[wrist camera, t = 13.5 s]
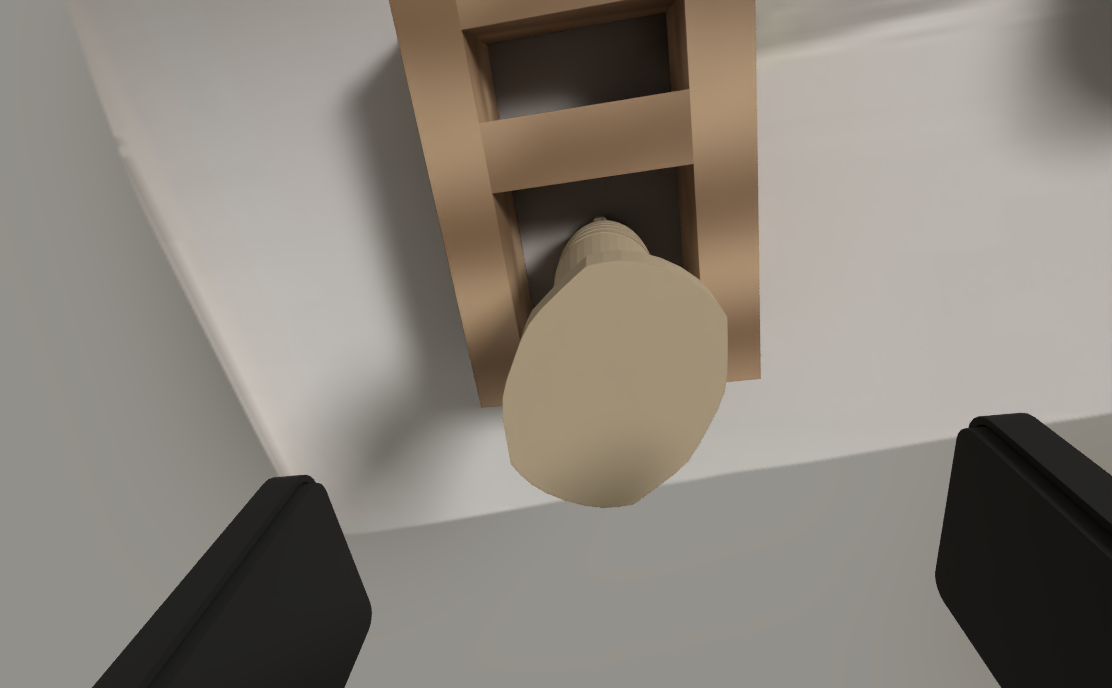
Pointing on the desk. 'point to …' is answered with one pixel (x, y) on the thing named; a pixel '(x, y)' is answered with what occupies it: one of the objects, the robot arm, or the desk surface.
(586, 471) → the handle
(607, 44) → the desk surface
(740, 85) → the wooden shelf
